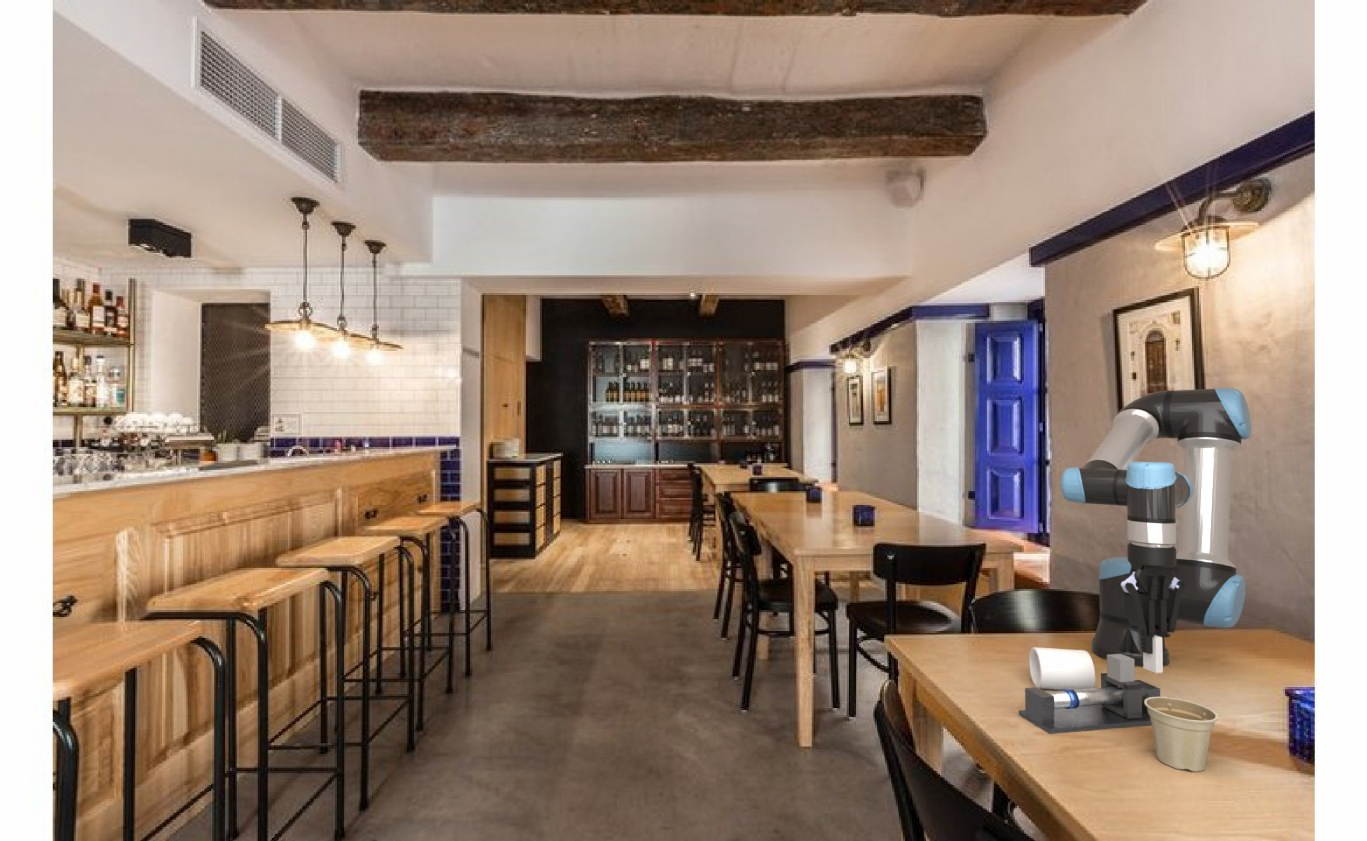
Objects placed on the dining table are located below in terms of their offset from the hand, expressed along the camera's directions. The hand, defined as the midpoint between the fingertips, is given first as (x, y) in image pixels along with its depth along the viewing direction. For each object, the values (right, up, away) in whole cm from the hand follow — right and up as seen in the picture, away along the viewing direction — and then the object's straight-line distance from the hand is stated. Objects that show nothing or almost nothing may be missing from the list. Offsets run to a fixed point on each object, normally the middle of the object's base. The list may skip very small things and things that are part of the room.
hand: (1152, 670), depth 123 cm
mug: (-10, -9, +14) cm, 19 cm away
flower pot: (-9, -8, -19) cm, 22 cm away
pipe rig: (-13, -8, -2) cm, 15 cm away
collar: (-7, -8, -1) cm, 11 cm away
